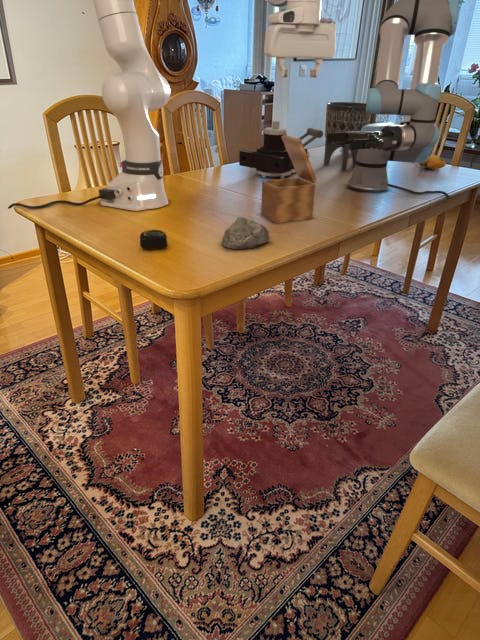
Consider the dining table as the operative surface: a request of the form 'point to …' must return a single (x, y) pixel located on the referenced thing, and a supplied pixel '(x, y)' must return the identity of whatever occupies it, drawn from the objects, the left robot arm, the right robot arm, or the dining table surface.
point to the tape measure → (153, 239)
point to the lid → (301, 153)
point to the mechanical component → (270, 154)
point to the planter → (344, 127)
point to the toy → (433, 163)
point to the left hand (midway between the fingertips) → (298, 77)
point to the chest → (287, 199)
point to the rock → (245, 234)
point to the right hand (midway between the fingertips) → (339, 140)
